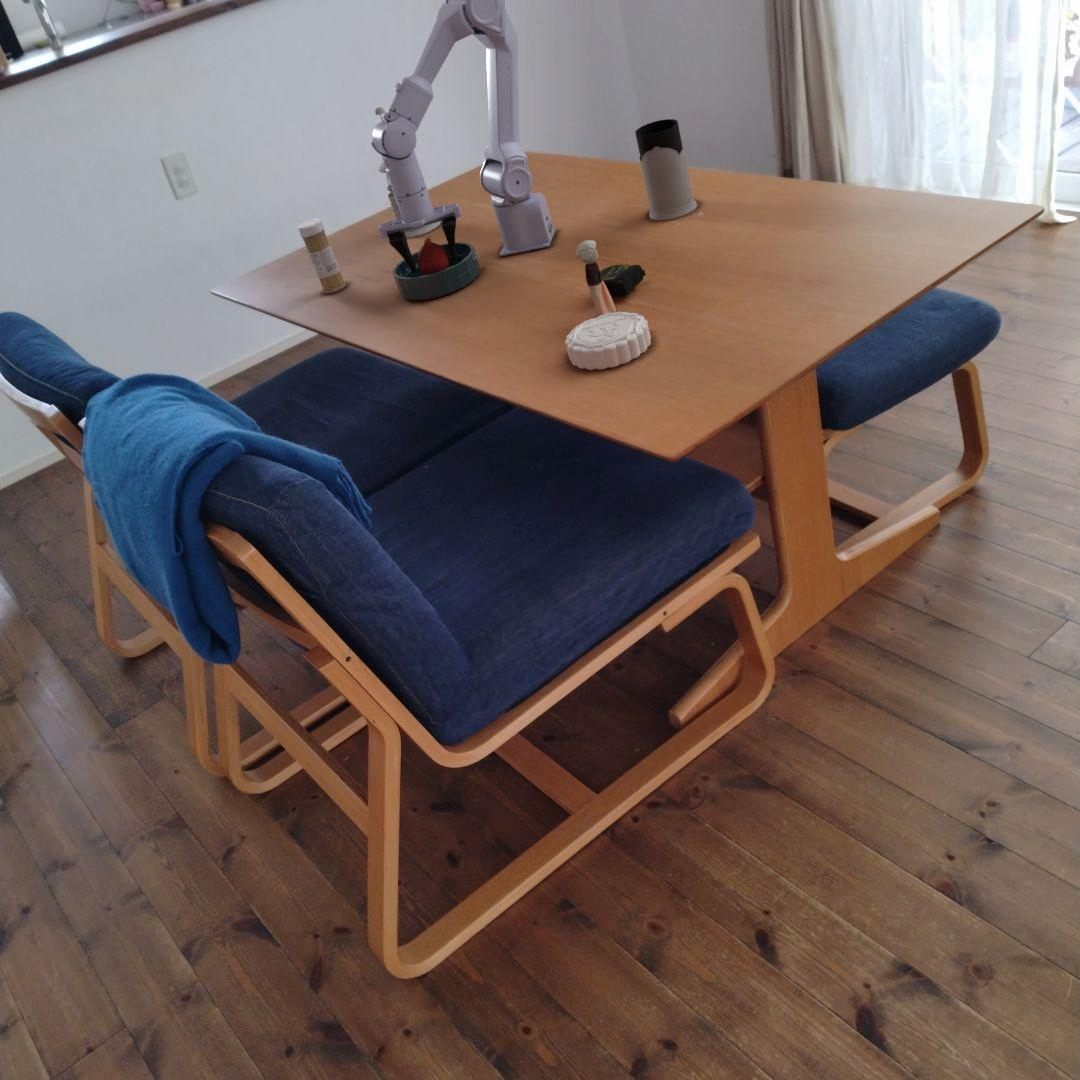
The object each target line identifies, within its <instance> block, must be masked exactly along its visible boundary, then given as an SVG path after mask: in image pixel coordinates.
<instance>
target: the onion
mask: <svg viewBox="0 0 1080 1080" xmlns="http://www.w3.org/2000/svg"><path fill="white" fill-rule="evenodd" d="M418 252H419V253H418V258H417V259H418V267H419V269H420V271H421V273H422V274H423V275H430V274H433V273H437V272H440V271H443V270H445V269H447V268H449V267H450V258H449V255H448V252H447V251H446V250H445V248H444V247H442V246H441V244H439V243H436V242H433V241H432V238H430V237H426V238H425V239H424V242H423V245H422V246H421V247H420V248H419V250H418Z"/></svg>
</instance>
